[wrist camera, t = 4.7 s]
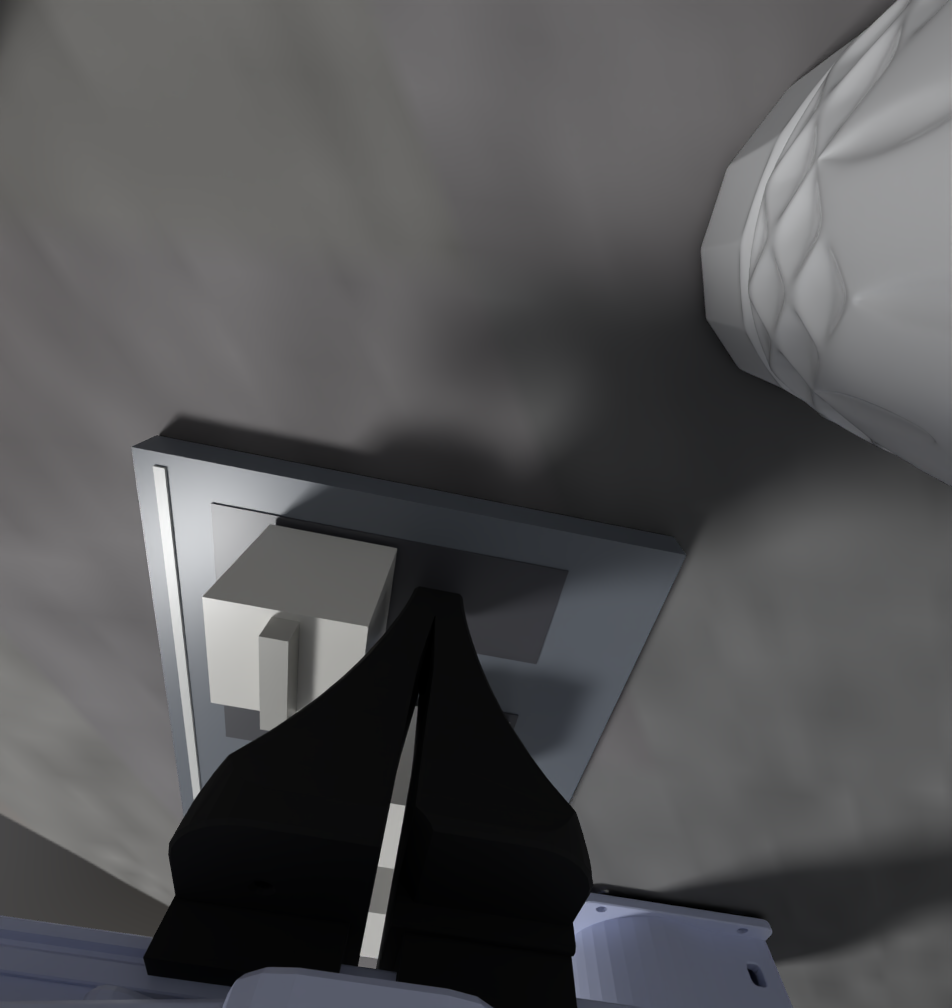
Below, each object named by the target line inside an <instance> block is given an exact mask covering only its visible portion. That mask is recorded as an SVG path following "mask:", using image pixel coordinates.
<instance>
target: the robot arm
mask: <svg viewBox="0 0 952 1008" xmlns="http://www.w3.org/2000/svg"><path fill="white" fill-rule="evenodd" d="M418 695H419V699H418ZM417 699H418V709H417V720H416V732H415V743H414V754H413V763H412V770H411V778H410V783H409V789H408V794H407V800H406V806H405V811H404V817H403V823H402V828H401V834H400V839H399V845H398V850H397V856H396V862H395V867H394V873H393V878H392V884H391V889H390V895H389V900H388V906H387V911H386V917H385V922H384V928H383V933H382V939H381V944H380V950H379V955H378V961H377V966H376V969H372V968H365V967H358V962H359V957H360V952H361V947H362V942H363V938H364V933H365V928H366V923H367V918H368V913H369V908H370V903H371V898H372V893H373V888H374V883H375V878H376V873H377V868H378V863H379V858H380V853H381V848H382V843H383V838H384V833H385V828H386V823H387V818H388V813H389V808H390V803H391V798H392V793H393V788H394V783H395V778H396V773H397V769H398V765H399V761H400V757H401V754H402V750H403V747H404V743H405V740H406V737H407V733H408V730H409V726H410V723H411V719H412V716H413V712H414V709H415V706H416V702H417ZM168 855H169V861H170V866H171V872H172V878H173V884H174V889H175V897H174V899H173V901H172V903H171V905H170V906H169V908H168V911H167V912H166V914H165V916H164V918H163V920H162V922H161V924H160V926H159V928H158V930H157V932H156V933H155V935H154V937H148V936H141V935H134V934H126V933H120V932H113V931H106V930H99V929H92V928H84V927H78V926H71V925H63V924H57V923H50V922H43V921H35V920H29V919H21V918H15V917H8V916H1V915H0V1008H793V1006H792V1004H791V1002H790V999H789V997H788V994H787V992H786V989H785V987H784V984H783V982H782V980H781V977H780V975H779V972H778V970H777V967H776V965H775V962H774V960H773V958H772V955H771V953H770V950H769V948H768V945H767V943H766V940H767V939H768V938H769V937H770V936H771V934H772V929H771V927H770V924H769V922H768V921H766V920H764V919H759V918H752V917H746V916H740V915H733V914H727V913H720V912H714V911H707V910H701V909H694V908H688V907H681V906H675V905H668V904H662V903H655V902H649V901H642V900H636V899H630V898H623V897H617V896H610V895H604V894H597V893H590V892H591V889H592V886H593V880H592V871H591V864H590V859H589V855H588V851H587V847H586V843H585V840H584V836H583V833H582V829H581V826H580V823H579V820H578V817H577V814H576V812H575V810H574V809H573V808H572V807H571V806H570V804H569V803H568V802H567V801H566V800H565V799H564V797H563V796H562V795H561V794H560V793H559V792H558V790H557V789H556V788H555V787H554V786H553V784H552V783H551V782H550V781H549V780H548V778H547V777H546V776H545V774H544V773H543V772H542V770H541V769H540V768H539V766H538V765H537V764H536V762H535V761H534V759H533V758H532V757H531V755H530V754H529V752H528V751H527V749H526V748H525V746H524V744H523V743H522V741H521V740H520V738H519V737H518V735H517V734H516V732H515V731H514V729H513V728H512V726H511V724H510V723H509V721H508V719H507V717H506V716H505V714H504V712H503V710H502V709H501V707H500V705H499V703H498V701H497V699H496V697H495V695H494V693H493V691H492V689H491V687H490V685H489V682H488V680H487V678H486V676H485V673H484V671H483V668H482V666H481V664H480V661H479V658H478V656H477V653H476V650H475V647H474V644H473V641H472V638H471V635H470V631H469V628H468V624H467V620H466V616H465V611H464V605H463V598H462V596H461V595H460V594H458V593H453V592H447V591H442V590H437V589H431V588H426V587H421V586H419V587H417V588H415V589H414V591H413V593H412V595H411V597H410V599H409V600H408V602H407V604H406V605H405V607H404V608H403V610H402V611H401V613H400V614H399V615H398V617H397V618H396V619H395V621H394V622H393V623H392V624H391V626H390V627H389V628H388V630H387V631H386V632H385V633H384V635H383V636H382V637H381V638H380V639H379V640H378V641H377V642H376V643H375V645H374V646H373V647H372V648H371V649H370V650H369V651H368V652H367V653H366V654H365V655H364V657H363V658H362V659H361V660H360V661H359V662H358V663H356V664H355V665H354V666H353V667H352V668H351V669H350V670H349V671H348V672H347V673H346V674H345V675H344V676H343V677H341V678H340V679H339V680H338V681H337V682H336V683H334V684H333V685H332V686H331V687H330V688H328V689H327V690H326V691H325V692H324V693H322V694H321V695H320V696H319V697H317V698H316V699H315V700H313V701H312V702H311V703H309V704H308V705H307V706H305V707H304V708H302V709H301V710H299V711H298V712H297V713H295V714H294V715H292V716H291V717H289V718H288V719H287V720H285V721H284V722H282V723H281V724H279V725H278V726H276V727H275V728H273V729H272V730H270V731H268V732H267V733H265V734H263V735H262V736H260V737H258V738H256V739H255V740H253V741H251V742H250V743H248V744H246V745H245V746H243V747H241V748H240V749H238V750H236V751H234V752H233V753H231V754H229V755H228V756H227V757H226V759H225V760H224V761H223V762H222V763H221V765H220V766H219V767H218V768H217V769H216V771H215V772H214V773H213V774H212V776H211V777H210V778H209V780H208V781H207V782H206V784H205V785H204V787H203V788H202V789H201V791H200V792H199V793H198V795H197V796H196V798H195V799H194V801H193V802H192V804H191V806H190V807H189V809H188V811H187V813H186V814H185V816H184V818H183V820H182V821H181V823H180V825H179V827H178V828H177V830H176V832H175V834H174V836H173V837H172V839H171V841H170V843H169V854H168Z"/></svg>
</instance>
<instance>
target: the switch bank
mask: <svg viewBox="0 0 952 1008" xmlns="http://www.w3.org/2000/svg"><path fill="white" fill-rule="evenodd" d="M131 449H132V456H133V463H134V470H135V477H136V484H137V491H138V498H139V505H140V512H141V519H142V526H143V533H144V540H145V547H146V554H147V561H148V569H149V576H150V583H151V590H152V597H153V604H154V611H155V618H156V625H157V632H158V639H159V646H160V653H161V660H162V667H163V674H164V681H165V688H166V695H167V702H168V709H169V716H170V723H171V730H172V737H173V744H174V752H175V759H176V766H177V773H178V780H179V787H180V794H181V801H182V808H183V815H184V816H185V814H186V813H187V811H188V809H189V807H190V806H191V804H192V802H193V801H194V799H195V798H196V796H197V795H198V793H199V792H200V791H201V789H202V788H203V787H204V785H205V784H206V782H207V781H208V780H209V778H210V777H211V776H212V774H213V773H214V772H215V771H216V769H217V768H218V767H219V766H220V765H221V763H222V762H223V761H224V760H225V759H226V757H227V756H228V755H229V754H231V753H233V752H234V751H236V750H238V749H240V748H241V747H243V746H245V745H246V744H248V743H250V742H251V741H253V740H255V739H256V738H258V737H260V736H262V735H263V734H265V733H267V732H268V731H267V730H261V729H260V711H257V710H251V709H245V708H240V707H234V706H228V705H222V704H216V703H211V698H210V686H209V674H208V662H207V650H206V637H205V625H204V613H203V601H202V597H203V595H204V594H205V593H206V592H207V591H208V590H209V589H210V588H211V587H212V586H213V585H214V584H215V583H216V582H217V580H218V579H219V578H220V577H221V576H222V575H223V574H224V573H225V572H226V571H227V570H228V569H229V568H230V567H231V565H232V564H233V563H234V562H235V561H236V560H237V559H238V558H239V557H240V556H241V555H242V554H243V553H244V552H245V551H246V549H247V548H248V547H249V546H250V545H251V544H252V543H253V542H254V541H255V540H256V539H257V538H258V537H259V536H260V534H261V533H262V532H263V531H264V530H265V529H266V528H267V527H268V526H269V525H270V524H272V525H277V526H282V527H288V528H293V529H298V530H304V531H309V532H314V533H319V534H325V535H330V536H335V537H341V538H346V539H351V540H356V541H362V542H367V543H372V544H377V545H383V546H388V547H393V548H397V554H396V561H395V568H394V575H393V582H392V589H391V596H390V603H389V610H388V617H387V624H386V631H387V630H388V628H389V627H390V626H391V624H392V623H393V622H394V621H395V619H396V618H397V617H398V615H399V614H400V613H401V611H402V610H403V608H404V607H405V605H406V604H407V602H408V600H409V599H410V597H411V595H412V593H413V591H414V589H415V588H417V587H419V586H421V587H426V588H431V589H437V590H442V591H447V592H453V593H458V594H460V595H461V596H462V598H463V605H464V611H465V616H466V620H467V624H468V628H469V631H470V635H471V638H472V641H473V644H474V647H475V650H476V653H477V656H478V658H479V661H480V664H481V666H482V668H483V671H484V673H485V676H486V678H487V680H488V682H489V685H490V687H491V689H492V691H493V693H494V695H495V697H496V699H497V701H498V703H499V705H500V707H501V709H502V710H503V712H504V714H505V716H506V717H507V719H508V721H509V722H510V724H511V726H512V728H513V729H514V731H515V732H516V734H517V735H518V737H519V738H520V740H521V741H522V743H523V744H524V746H525V748H526V749H527V751H528V752H529V754H530V755H531V757H532V758H533V759H534V761H535V762H536V764H537V765H538V766H539V768H540V769H541V770H542V772H543V773H544V774H545V776H546V777H547V778H548V780H549V781H550V782H551V783H552V784H553V786H554V787H555V788H556V789H557V790H558V792H559V793H560V794H561V795H562V796H563V797H564V799H565V800H566V801H567V802H568V803H569V801H570V799H571V797H572V795H573V793H574V791H575V789H576V787H577V785H578V782H579V780H580V778H581V776H582V774H583V772H584V770H585V768H586V766H587V764H588V761H589V759H590V757H591V755H592V753H593V751H594V749H595V747H596V745H597V742H598V740H599V738H600V736H601V734H602V732H603V730H604V728H605V726H606V724H607V721H608V719H609V717H610V715H611V713H612V711H613V709H614V707H615V705H616V702H617V700H618V698H619V696H620V694H621V692H622V690H623V688H624V686H625V683H626V681H627V679H628V677H629V675H630V673H631V671H632V669H633V667H634V665H635V662H636V660H637V658H638V656H639V654H640V652H641V650H642V648H643V646H644V643H645V641H646V639H647V637H648V635H649V633H650V631H651V629H652V627H653V625H654V622H655V620H656V618H657V616H658V614H659V612H660V610H661V608H662V606H663V603H664V601H665V599H666V597H667V595H668V593H669V591H670V589H671V587H672V585H673V582H674V580H675V578H676V576H677V574H678V572H679V570H680V568H681V566H682V563H683V561H684V559H685V557H686V554H685V552H684V551H683V550H682V548H681V547H680V545H679V544H678V542H677V541H676V540H675V538H674V537H671V536H666V535H661V534H656V533H651V532H646V531H641V530H636V529H631V528H625V527H620V526H615V525H610V524H605V523H600V522H595V521H590V520H585V519H580V518H575V517H570V516H564V515H559V514H554V513H549V512H544V511H539V510H534V509H529V508H524V507H519V506H514V505H509V504H504V503H498V502H493V501H488V500H483V499H478V498H473V497H468V496H463V495H458V494H453V493H448V492H443V491H437V490H432V489H427V488H422V487H417V486H412V485H407V484H402V483H397V482H392V481H387V480H382V479H376V478H371V477H366V476H361V475H356V474H351V473H346V472H341V471H336V470H331V469H326V468H321V467H315V466H310V465H305V464H300V463H295V462H290V461H285V460H280V459H275V458H270V457H265V456H260V455H254V454H249V453H244V452H239V451H234V450H229V449H224V448H219V447H214V446H209V445H204V444H199V443H193V442H188V441H183V440H178V439H173V438H168V437H163V436H158V435H157V436H154V437H152V438H150V439H148V440H146V441H143V442H141V443H139V444H137V445H134V446H132V447H131ZM386 631H385V632H386ZM418 699H419V695H418ZM418 699H417V702H416V706H418Z"/></svg>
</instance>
